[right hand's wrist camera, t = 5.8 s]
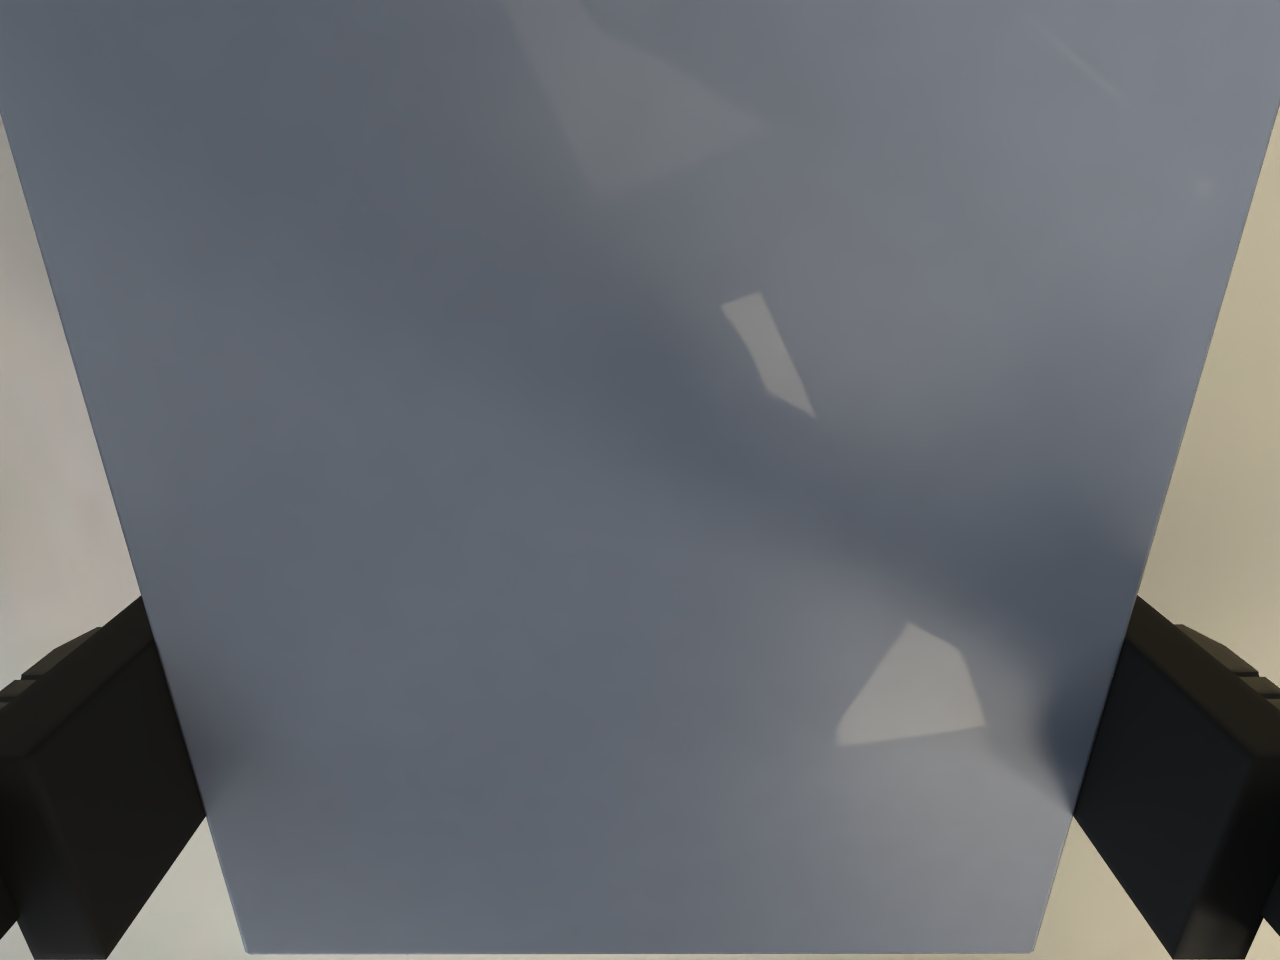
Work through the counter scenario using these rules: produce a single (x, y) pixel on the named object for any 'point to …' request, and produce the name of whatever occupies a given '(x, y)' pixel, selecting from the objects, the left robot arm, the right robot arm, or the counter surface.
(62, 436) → the counter surface
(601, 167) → the cabinet
